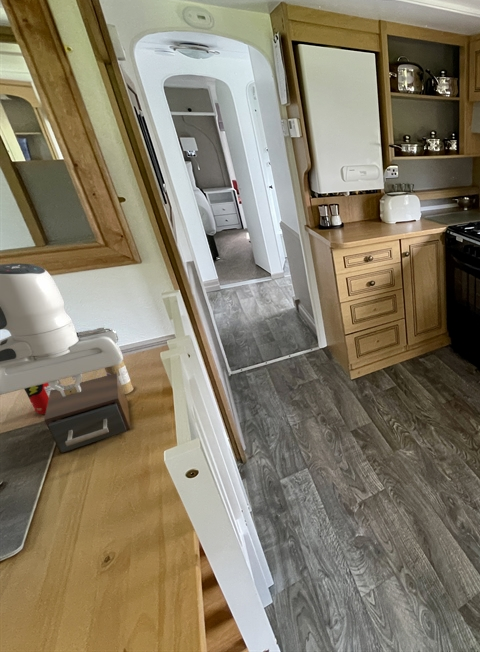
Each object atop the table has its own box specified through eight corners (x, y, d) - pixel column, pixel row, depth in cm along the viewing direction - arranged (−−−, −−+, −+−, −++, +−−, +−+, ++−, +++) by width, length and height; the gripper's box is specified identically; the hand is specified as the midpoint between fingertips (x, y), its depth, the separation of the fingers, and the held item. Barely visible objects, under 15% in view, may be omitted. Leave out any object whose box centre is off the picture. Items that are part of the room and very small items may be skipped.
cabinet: (130, 429, 97) (118, 398, 94) (60, 453, 89) (43, 419, 86) (127, 402, 107) (116, 372, 104) (64, 421, 99) (50, 390, 96)
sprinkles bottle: (109, 396, 110) (93, 356, 105) (122, 387, 114) (107, 348, 109) (126, 396, 110) (110, 356, 105) (138, 387, 114) (124, 348, 109)
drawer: (127, 443, 92) (116, 416, 89) (59, 467, 84) (45, 439, 81) (124, 405, 105) (115, 381, 102) (65, 423, 97) (54, 397, 95)
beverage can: (59, 399, 108) (43, 363, 103) (75, 404, 106) (59, 367, 102) (30, 413, 102) (12, 375, 97) (46, 418, 100) (28, 380, 96)
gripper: (113, 320, 88) (131, 371, 93) (-23, 348, 75) (7, 404, 80) (113, 330, 84) (132, 382, 89) (-31, 360, 71) (2, 419, 76)
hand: (72, 393), depth 85 cm, fingers closed
